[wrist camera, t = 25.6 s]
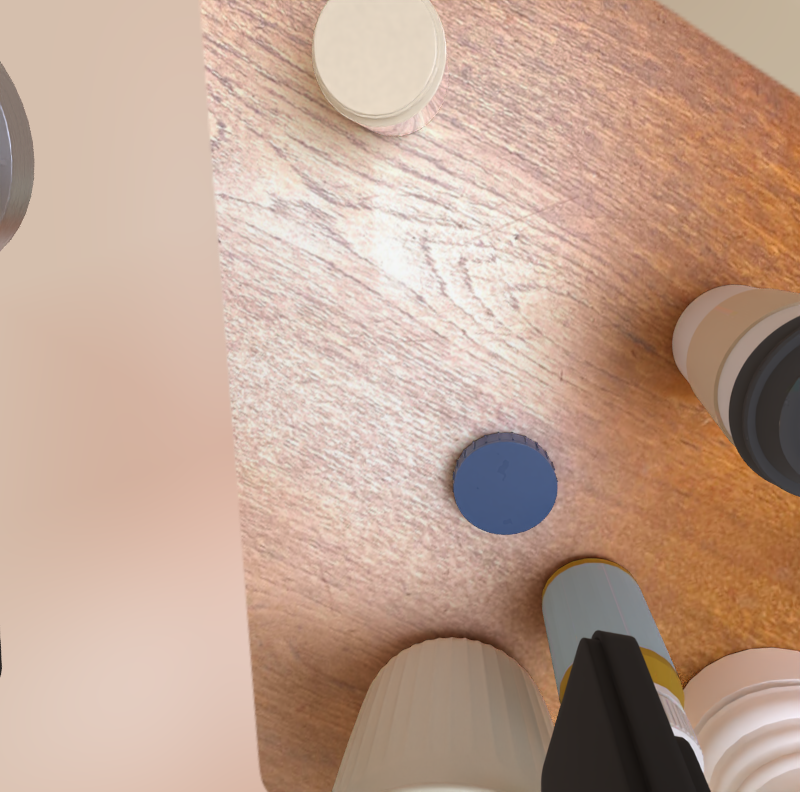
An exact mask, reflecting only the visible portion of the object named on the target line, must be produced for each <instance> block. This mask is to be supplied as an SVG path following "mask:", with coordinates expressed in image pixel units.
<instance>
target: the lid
mask: <svg viewBox="0 0 800 792" xmlns="http://www.w3.org/2000/svg"><path fill="white" fill-rule="evenodd" d="M554 470H555V468H554V465H553V462H551V461H550V459H549V457H548V455H547V452H546V451H544V450H543V449H542V448H541V447H540V446H539V445H538V443H537V442H536V443H535V442H534V441H532V440H531V439H529V438H527V437H526V436H521V435H518V434H513V432H511V433H499V432H498V433H496V434H491V435H487V436H486V435H484V437H482V438H480V439H478V440H476V441H475V442H474V441H473V443H472V444H471V445H469V446H468V447H467V448H466V449H465V450H463V453H462V454H461V456H460V458H459V459H458V460H457V461H456V467H455V471H453V480H454V483H453V492H454V497H455V501H456V504H457V506H458V508H459V510H460V512H461V513H462V514H463V516H464V517H465V518H466V519H467V520H468V521H469V522H470V523H472V524H473V525H474V526H476V527H478V528H479V529H481V530H484V531H486V532H489V533H494V534H501V535H510V534H517V533H521V532H524V531H527V530H529V529H531V528H533V527H535V526H536V525H537V524H539V523H540V522H541V521H542V520H543V519H545V517H546V516H547V515H548V514H549V512H550V511H551V509H552V507H553V505H554V503H555V500H556V496H557V482H558V481H557V478H556V475H555V472H554Z"/></svg>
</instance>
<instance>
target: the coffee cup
mask: <svg viewBox="0 0 800 792" xmlns="http://www.w3.org/2000/svg"><path fill="white" fill-rule="evenodd" d="M672 351H673V356H674V360H675V363H676V365H677V367H678V369H679V370H680V372H681V373H682V375H683V376H684V377H685V378H686V380H687V381H688V382H689V383H690V385H691V388H692V390H693V392H694V393H695V395H696V396H697V398H698V399H699V401H700V402H701V403H702V405H703V406H704V407H705V409H706V410H707V411H708V413H709V414H710V415H711V417H712V418H713V419H714V421H715V422H716V423H717V425H718V426H719V427H720V429H721V430H722V431H723V433H724V434H725V435H726V437H727V438H728V439H729V441H730V442H731V443H732V444H733V445H734V446H735V447H736V448H737V450H738V452H739V454H740V455H741V457H742V458H743V460H744V461H745V462H746V464H747V465H748V466H749V467H750V468H751V469H752V470H753V471H754V472H756V473H757V474H758V475H759V476H761V477H762V478H764V479H765V480H767V481H768V482H770V483H772V484H774V485H777V486H778V487H780V488H781V489H783V490H785V491H787V492H789V493H791V494H793V495H796V496H799V497H800V293H794V292H789V291H784V290H778V289H769V288H763V289H760V288H755V287H750V286H745V285H725V286H721V287H717V288H714V289H712V290H709V291H707V292H705V293H703V294H702V295H700V296H699V297H697V298H696V299H695V300H694V301H693V302H691V303H690V304H689V306H688V307H687V308H686V309H685V310H684V312H683V313H682V315H681V316H680V318H679V320H678V322H677V324H676V327H675V330H674V333H673V339H672Z"/></svg>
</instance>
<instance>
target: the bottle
mask: <svg viewBox="0 0 800 792" xmlns="http://www.w3.org/2000/svg"><path fill="white" fill-rule="evenodd" d="M542 611H543V617H544V622H545V627H546V632H547V638H548V643H549V648H550V653H551V658H552V664H553V669H554V674H555V679H556V684H557V690H558V695H559V700H560V704H561V703H562V699H563V696H564V692H565V689H566V686H567V682H568V679H569V675H570V672H571V668H572V665H573V662H574V658H575V655H576V651H577V648H578V645H579V642H580V640H581V639H582V638H583V637H585V638H590V639H591V638H592V635H593V634H594V632H595V631H597V630H600V631H606V632H612V633H617V634H623V635H629V636H633V637H634V638H635V639H636V640H637V642H638V645H639V647H640V650H641V652H642V655H643V657H644V660H645V662H646V665H647V667H648V670H649V672H650V675H651V677H652V680H653V682H654V685H655V688H656V690H657V693H658V695H659V698H660V700H661V703H662V705H663V708H664V710H665V713H666V715H667V718H668V720H669V723H670V725H671V728H672V731H673V733H674V736H678V737H683V738H684V739H686V740H687V741H688V742H689V743H690V745H691V747H692V749H693V750H694V752H695V755H696V757H697V759H698V762H699V764H700V767H701V769H702V771H703V773H704V759H703V754H702V750H701V747H700V745H699V743H698V740H697V738H696V736H695V733H694V731H693V729H692V726H691V724H690V722H689V719H688V718H687V716H686V713H685V711H684V700H685V697H684V692H683V688H682V685H681V682H680V680H679V676H678V674H677V672H676V669H675V667H674V665H673V662H672V660H671V658H670V656H669V653H668V651H667V649H666V647H665V644H664V642H663V640H662V637H661V635H660V633H659V631H658V628H657V626H656V624H655V621H654V619H653V617H652V615H651V612H650V610H649V608H648V606H647V603H646V601H645V599H644V596H643V594H642V592H641V590H640V588H639V586H638V584H637V582H636V580H635V579H634V578H633V576H632V575H631V574H630V572H628V571H627V570H626V569H625V568H623V567H621V566H620V565H618V564H617V563H614V562H611V561H608V560H604V559H596V558H587V559H581V560H577V561H573V562H570V563H568V564H566V565H565V566H563V567H561V568H560V569H558V570H557V571H556V572H555V573H554V574H553V575H552V576H551V577H550V578H549V579H548V581H547V583H546V585H545V587H544V590H543V593H542Z"/></svg>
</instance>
